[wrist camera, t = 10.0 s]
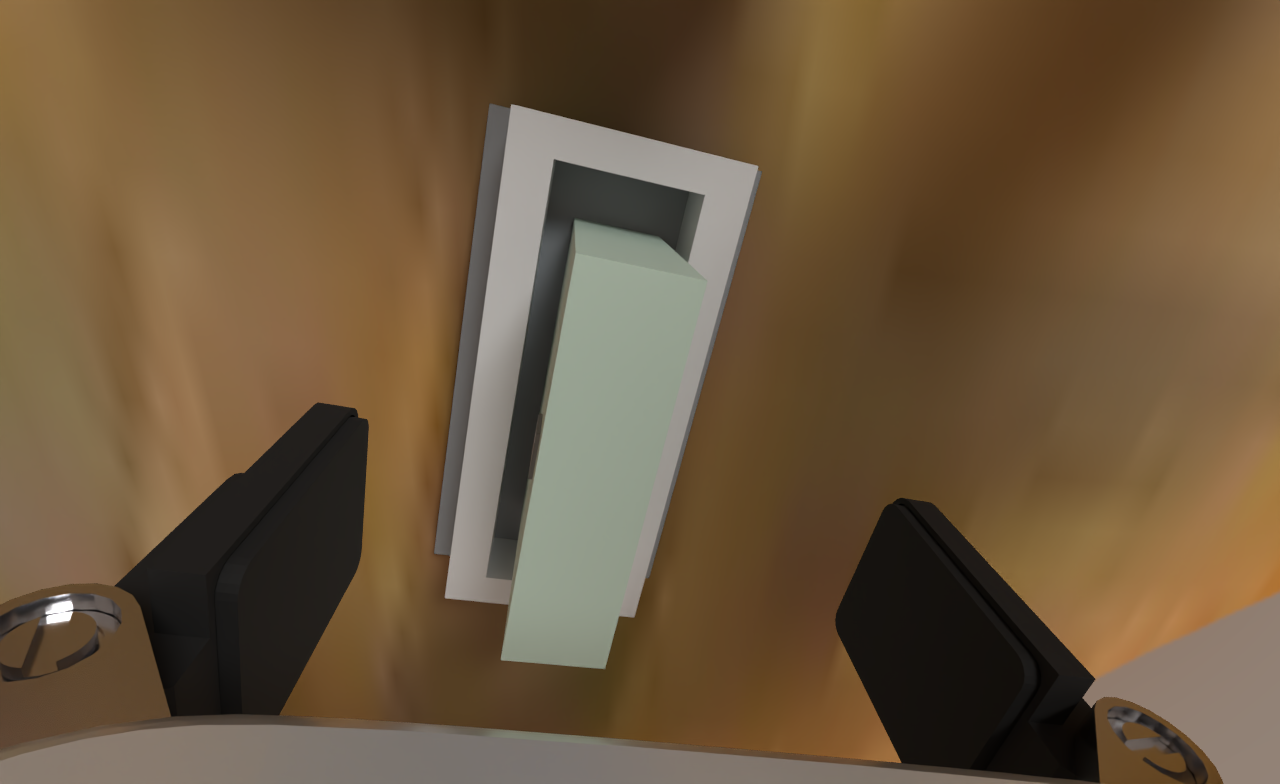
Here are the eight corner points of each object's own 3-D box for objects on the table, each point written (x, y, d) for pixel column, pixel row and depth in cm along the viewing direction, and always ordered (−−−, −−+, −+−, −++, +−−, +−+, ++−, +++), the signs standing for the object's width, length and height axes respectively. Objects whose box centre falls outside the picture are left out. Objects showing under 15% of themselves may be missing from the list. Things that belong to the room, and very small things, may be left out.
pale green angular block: (661, 237, 18) (712, 281, 12) (598, 514, 21) (609, 669, 15) (571, 216, 17) (570, 251, 11) (520, 503, 21) (496, 659, 14)
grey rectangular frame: (754, 171, 18) (786, 173, 16) (646, 565, 23) (656, 619, 21) (493, 105, 17) (477, 95, 14) (438, 540, 22) (419, 595, 19)
